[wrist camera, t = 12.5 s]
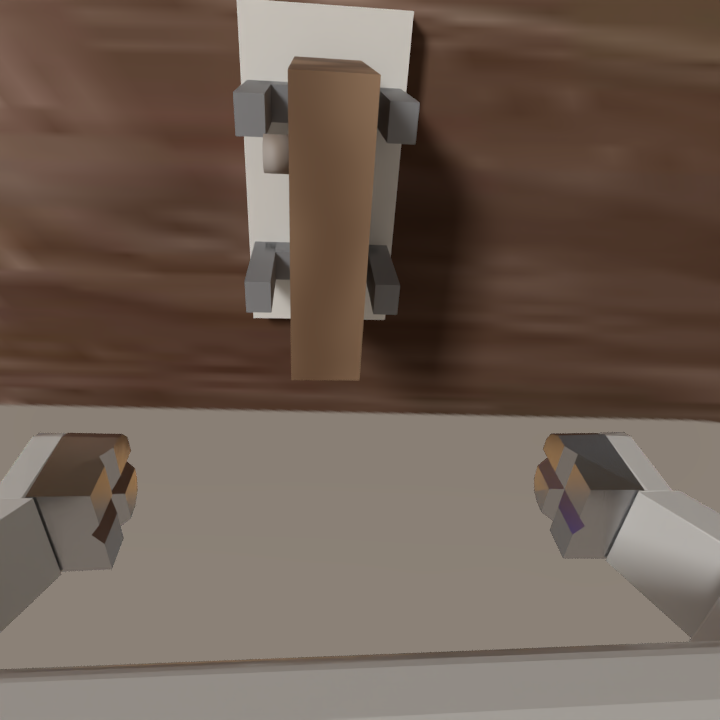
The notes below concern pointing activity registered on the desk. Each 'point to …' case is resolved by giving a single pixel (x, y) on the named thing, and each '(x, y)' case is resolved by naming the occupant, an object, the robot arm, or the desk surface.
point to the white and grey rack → (270, 116)
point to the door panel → (327, 209)
